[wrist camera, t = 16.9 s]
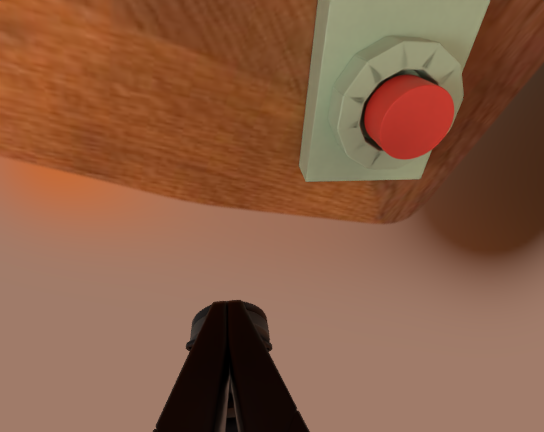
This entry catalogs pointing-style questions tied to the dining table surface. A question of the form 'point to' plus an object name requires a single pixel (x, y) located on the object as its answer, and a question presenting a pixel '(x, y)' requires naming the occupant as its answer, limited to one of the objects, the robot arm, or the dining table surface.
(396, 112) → the stop button
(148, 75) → the dining table surface
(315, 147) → the green button base
